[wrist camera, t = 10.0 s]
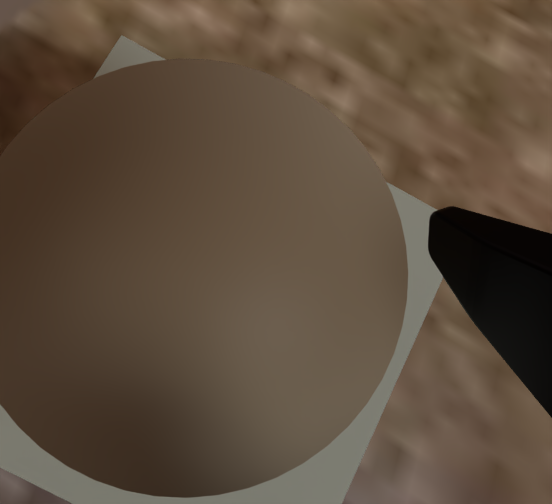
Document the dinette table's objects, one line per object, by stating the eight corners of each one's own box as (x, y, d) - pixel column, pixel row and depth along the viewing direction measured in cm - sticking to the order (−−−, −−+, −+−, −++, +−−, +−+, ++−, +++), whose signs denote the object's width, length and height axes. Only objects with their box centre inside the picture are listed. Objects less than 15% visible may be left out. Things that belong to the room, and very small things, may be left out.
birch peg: (256, 370, 18) (411, 493, 5) (142, 368, 18) (-68, 502, 4) (260, 260, 19) (405, 78, 5) (149, 255, 18) (-13, 39, 5)
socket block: (272, 549, 17) (292, 613, 14) (-47, 388, 17) (-123, 406, 13) (414, 246, 20) (465, 226, 16) (138, 95, 19) (121, 35, 15)
